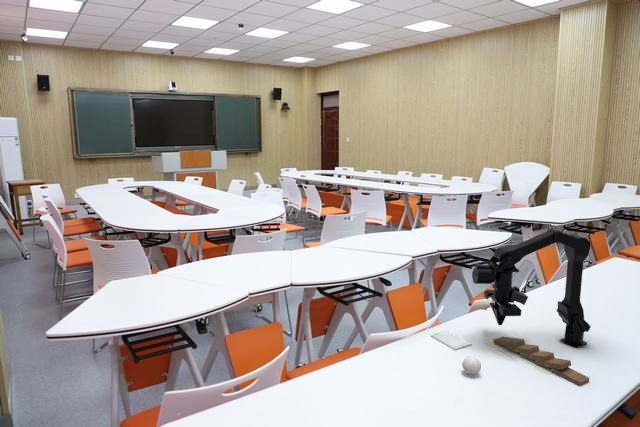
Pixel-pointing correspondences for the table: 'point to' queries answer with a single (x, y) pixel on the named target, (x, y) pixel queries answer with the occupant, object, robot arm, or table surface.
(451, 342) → the hard drive
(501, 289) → the robot arm
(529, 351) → the domino
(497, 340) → the domino
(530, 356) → the domino
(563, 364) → the domino
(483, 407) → the table surface
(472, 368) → the white sphere
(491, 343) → the mat
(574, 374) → the domino
